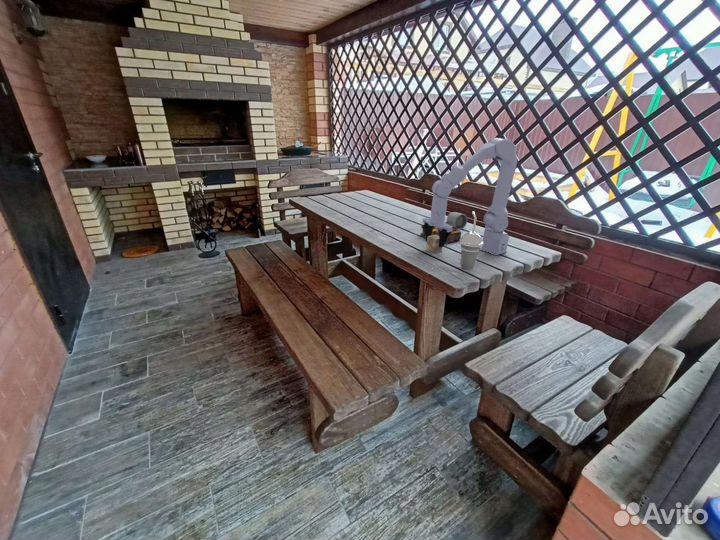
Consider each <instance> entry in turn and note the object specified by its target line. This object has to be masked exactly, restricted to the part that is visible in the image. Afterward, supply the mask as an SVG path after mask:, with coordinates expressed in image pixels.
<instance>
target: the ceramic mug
mask: <svg viewBox="0 0 720 540" xmlns="http://www.w3.org/2000/svg"><path fill="white" fill-rule="evenodd" d="M445 223H446V224H448V225H449V226H452V227H453V229H457V230H463V229H464V228H466V226H467V223H468V217H467V215H466V214H465V213H461V212H457V211H453V212H450V213H449V214H448V215H447V217H446V220H445Z"/></svg>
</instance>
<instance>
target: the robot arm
mask: <svg viewBox="0 0 720 540" xmlns="http://www.w3.org/2000/svg"><path fill="white" fill-rule="evenodd" d="M488 159H495V160H497V162H498V163H499V164H500V168H499V173H498V177H497V180H496V186H495V188H494V189H495V190H494V194H493V198H492V202H491V205H490V206H489V207H488V208H487V211H486V213H485V214H484V216H483V223H484V224H485V226H484V231H483V237H482V241H483V242H484V243H483V244H484V245H483V246H481V248H480V250H479V251H482V250H483V252H485V251H486V252H485V253H488V252H489V253H488V254H490V253H491V255H494V256H498V255H501V254H504V253H507V252H508V250H507V248H508V243H509V239H510V237H509V234H508V233H507V232H505V230H506V229H507V227H508V226H509V220H508V219H509V218H508V217H509V212H508V210H507V205H508V200H509V196H510V193H511V192H510V191H511V188H512V184H513V180H514V177H515V172H516V167H517V164H518V157H517V153H516V145H515V143H514V142H513V141H512V140H511V139H510V138H499V137H492V138H490V139H489V140H488V141H487V142H485V143H484V144H483V145H482V146H481V147H480V148H479V149H478V150H477V151H476V152H475V153H473V155H472V156H470V157H469V158H468V159H467V160H466V161H465V162H464V163H463V164H461V165H460V166H459V165H457V166H455V167H454V166H453V167H451V168H450V171H449V172H447V174H445V175H444V176H441V177H440V179H439V180H436V181H435V182H434V183H433V185H432V186H431V191H432V193H433V194H432V202H431V210H430V218H427V217H425V218H422V225H421V226H422V228H421V229H422V230H423V231H424V234H425V236H424V239H425V242H426V243H427V238H428V236H431V235H432V231H433V228H434V227H437V228H440V229H442V230H441V231H438V233H439V247H442V248H444V246H445V242H446V240H447V238H448V237H449V235H450V234H451V233H452V229H454V227H452V226H449V224H446V223H445V222H446V213H447V206H448V197H449V196H450V194H451V193H452V190H453V189H454V188H456V187H457V186H458V185H459V184H460V183H462V182H463V181H464V180H465V179H467V175H468V173H469V172H470V171H472V169H474V168H475V167H477V166H479V164H481V163H482V162H484V161H485V160H488Z"/></svg>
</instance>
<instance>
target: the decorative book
mask: <svg viewBox="0 0 720 540" xmlns="http://www.w3.org/2000/svg"><path fill="white" fill-rule="evenodd" d="M421 229H422V232H421V233H420V235H421V236H422V237H425V234H424V231H423V228H422V225H421ZM441 230H442V229H440V228H437V227H434V228H433V231H432V235H438V236H439V233H438V231H441ZM432 235H431V236H432ZM460 238H462V231H459V230H458V229H456V228H452V233H451V234H450V235H449V237H448V238H447V240H446V242H445V244H446V245H448V244H449V243H452V242H453V243H454V242H459V240H460ZM445 244H444V245H445Z"/></svg>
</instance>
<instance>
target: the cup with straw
mask: <svg viewBox="0 0 720 540" xmlns="http://www.w3.org/2000/svg"><path fill="white" fill-rule="evenodd" d="M471 213H472V216H473V219H474V221H473V225H472V226H473V227H472V231H471V230H470V231H466V232H465V233H464V234H463V235H462V236H461V238H460V240H459V241H458V243H459V244H460V268H461V269H462V270H464V271H472V270H471V269H473V270H474V267H475V265H476V261H477V258H478V255H479V253H480V251H481V250H480V248H481V246H483V245H484V244H483V243H484V242H483V238H482V237H481V235H480V233H478V232H476V230H475V229H476V224H477V215H476V213H475V211H472V212H471Z"/></svg>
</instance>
